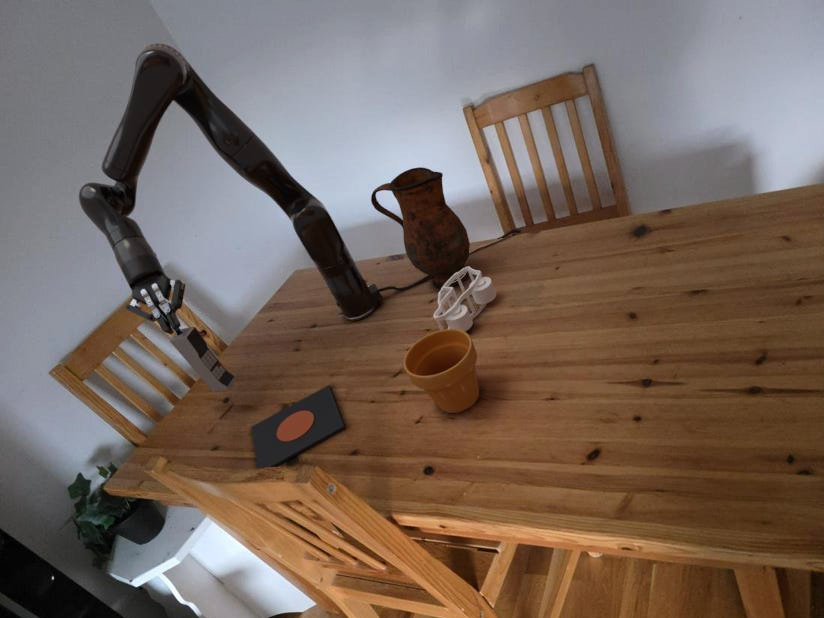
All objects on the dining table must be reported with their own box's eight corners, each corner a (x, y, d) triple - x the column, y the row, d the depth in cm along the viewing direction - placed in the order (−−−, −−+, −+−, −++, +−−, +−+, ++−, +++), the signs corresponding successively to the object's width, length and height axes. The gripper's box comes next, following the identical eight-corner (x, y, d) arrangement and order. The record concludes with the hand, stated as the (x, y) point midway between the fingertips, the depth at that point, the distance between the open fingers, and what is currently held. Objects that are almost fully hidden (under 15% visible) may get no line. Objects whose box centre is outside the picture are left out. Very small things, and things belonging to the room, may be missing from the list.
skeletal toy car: (463, 344, 138) (452, 320, 133) (427, 338, 144) (416, 315, 140) (505, 292, 148) (497, 267, 144) (470, 288, 155) (461, 265, 150)
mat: (330, 387, 142) (328, 384, 141) (345, 428, 128) (343, 425, 128) (253, 428, 139) (250, 425, 138) (260, 475, 126) (257, 472, 125)
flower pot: (418, 395, 129) (394, 351, 121) (476, 364, 131) (456, 318, 123) (440, 434, 118) (415, 388, 110) (502, 399, 119) (482, 351, 112)
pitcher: (472, 293, 153) (429, 187, 135) (400, 301, 162) (351, 202, 143) (488, 257, 164) (451, 154, 146) (420, 266, 173) (377, 170, 155)
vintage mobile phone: (230, 391, 139) (161, 307, 124) (213, 392, 141) (143, 310, 125) (237, 379, 142) (171, 296, 126) (221, 381, 143) (153, 299, 128)
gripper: (99, 272, 126) (135, 343, 123) (159, 242, 127) (195, 312, 125) (119, 282, 133) (153, 349, 131) (175, 254, 135) (209, 320, 133)
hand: (173, 331), depth 128 cm, fingers closed on vintage mobile phone, 1 cm apart
